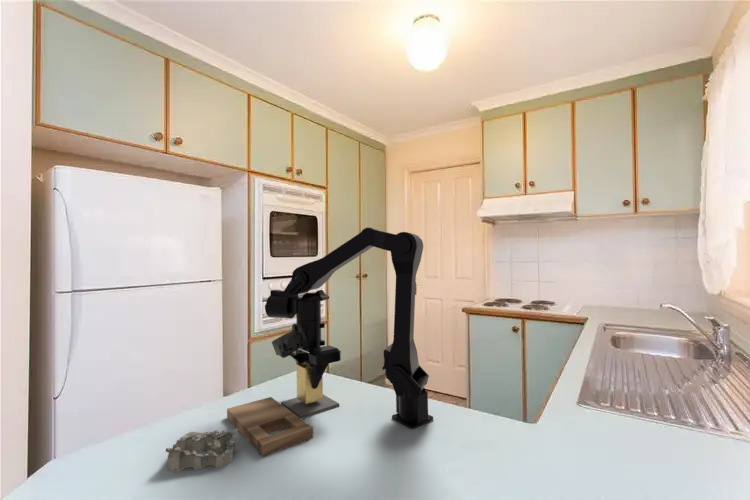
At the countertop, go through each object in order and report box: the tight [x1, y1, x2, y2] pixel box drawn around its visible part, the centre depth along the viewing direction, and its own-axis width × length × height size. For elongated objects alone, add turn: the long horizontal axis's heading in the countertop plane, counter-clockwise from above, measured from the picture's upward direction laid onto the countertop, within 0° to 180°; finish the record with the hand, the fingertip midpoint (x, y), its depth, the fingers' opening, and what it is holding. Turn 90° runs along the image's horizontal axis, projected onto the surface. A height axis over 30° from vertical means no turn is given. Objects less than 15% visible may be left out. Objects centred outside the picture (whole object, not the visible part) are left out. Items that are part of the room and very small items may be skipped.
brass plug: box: [296, 363, 324, 404], centre depth 85 cm, size 4×4×8 cm
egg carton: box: [165, 427, 239, 473], centre depth 63 cm, size 11×8×4 cm
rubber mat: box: [280, 394, 340, 419], centre depth 85 cm, size 10×10×1 cm
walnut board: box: [226, 396, 314, 457], centre depth 74 cm, size 20×10×2 cm, turn 39°
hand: (309, 385), depth 85 cm, fingers closed on brass plug, 4 cm apart
